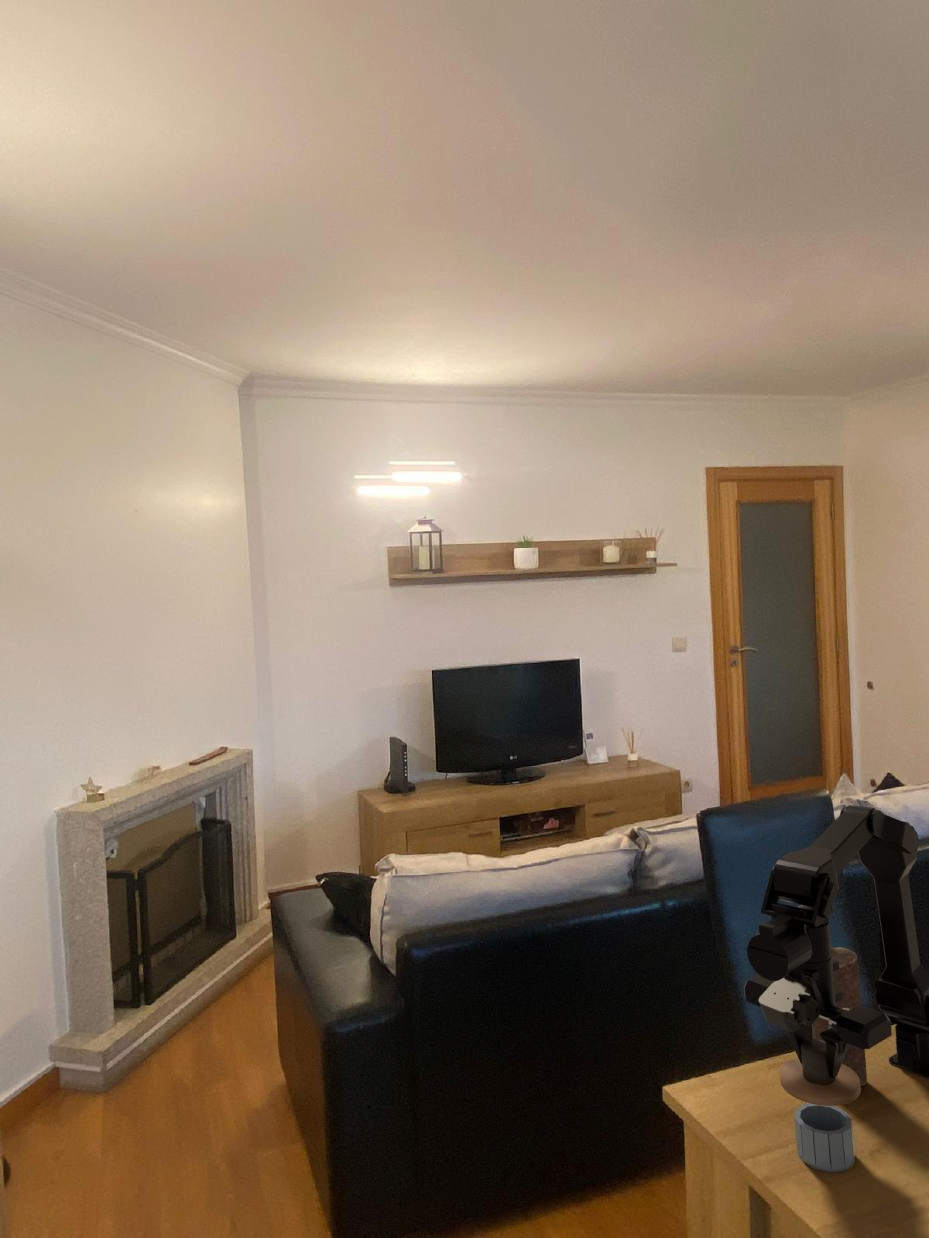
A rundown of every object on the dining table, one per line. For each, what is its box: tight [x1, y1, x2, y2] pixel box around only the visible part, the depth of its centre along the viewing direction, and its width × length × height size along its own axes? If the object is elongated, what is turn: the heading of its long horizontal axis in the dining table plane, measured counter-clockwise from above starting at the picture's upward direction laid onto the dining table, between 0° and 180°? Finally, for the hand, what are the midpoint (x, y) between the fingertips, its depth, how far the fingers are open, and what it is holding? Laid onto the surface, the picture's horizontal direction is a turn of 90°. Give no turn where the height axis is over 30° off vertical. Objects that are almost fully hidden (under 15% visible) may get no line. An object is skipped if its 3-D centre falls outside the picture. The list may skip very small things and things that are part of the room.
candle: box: [811, 946, 868, 1087], centre depth 129 cm, size 8×7×20 cm
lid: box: [779, 1038, 862, 1107], centre depth 113 cm, size 10×10×5 cm
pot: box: [794, 1102, 856, 1173], centre depth 113 cm, size 7×7×5 cm
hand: (818, 1070), depth 113 cm, fingers closed on lid, 4 cm apart
